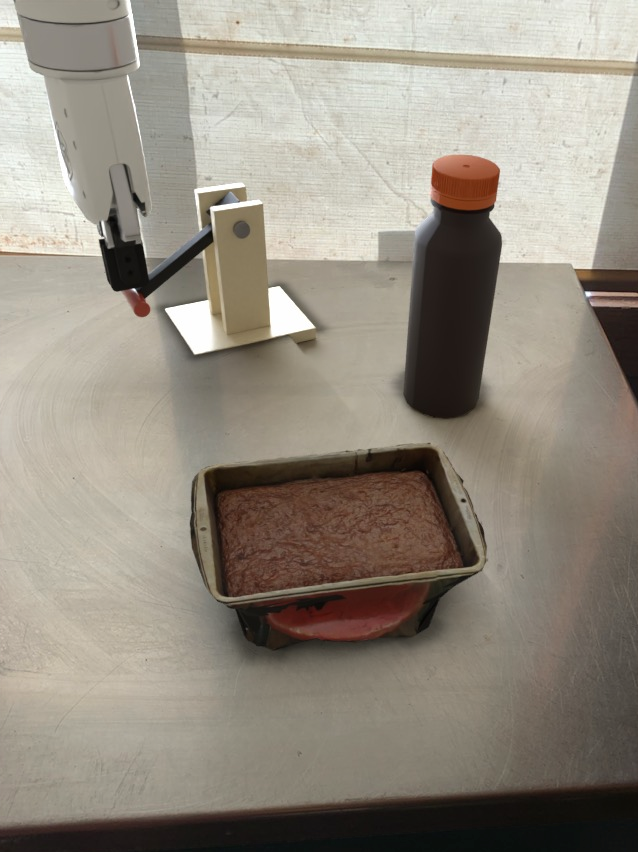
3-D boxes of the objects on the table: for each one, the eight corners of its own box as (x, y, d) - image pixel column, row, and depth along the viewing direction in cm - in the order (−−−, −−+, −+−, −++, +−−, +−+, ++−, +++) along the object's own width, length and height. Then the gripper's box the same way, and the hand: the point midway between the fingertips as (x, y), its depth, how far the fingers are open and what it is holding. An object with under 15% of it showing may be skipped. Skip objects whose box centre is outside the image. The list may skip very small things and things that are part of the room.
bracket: (196, 366, 72) (176, 227, 63) (166, 319, 77) (143, 186, 68) (316, 338, 77) (313, 206, 68) (280, 296, 82) (273, 168, 73)
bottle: (457, 371, 74) (486, 146, 60) (491, 412, 70) (530, 179, 56) (391, 384, 72) (404, 153, 58) (421, 427, 68) (444, 189, 53)
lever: (145, 324, 69) (126, 305, 67) (129, 298, 72) (111, 279, 70) (260, 228, 69) (245, 207, 67) (240, 206, 72) (224, 185, 70)
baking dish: (464, 680, 52) (507, 567, 46) (182, 680, 47) (187, 555, 41) (423, 537, 62) (453, 431, 56) (190, 526, 58) (195, 409, 52)
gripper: (4, 19, 59) (64, 256, 72) (48, 76, 50) (107, 335, 63) (107, 14, 62) (147, 242, 74) (165, 67, 53) (199, 316, 66)
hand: (129, 284), depth 69 cm, fingers closed
